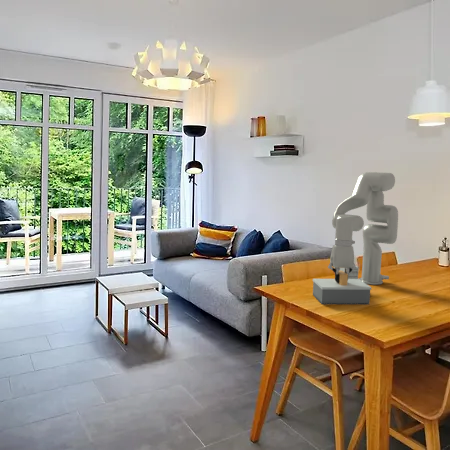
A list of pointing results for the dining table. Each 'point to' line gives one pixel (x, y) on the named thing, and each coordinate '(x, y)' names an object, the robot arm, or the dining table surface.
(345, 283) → the lid
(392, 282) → the dining table surface
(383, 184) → the robot arm
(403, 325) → the dining table surface
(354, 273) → the supplement box
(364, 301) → the tub
